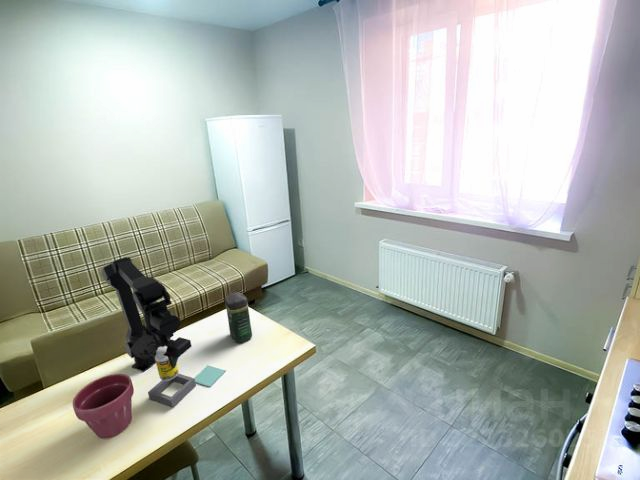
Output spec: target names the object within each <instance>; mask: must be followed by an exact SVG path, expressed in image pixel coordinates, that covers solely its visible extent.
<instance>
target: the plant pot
mask: <svg viewBox="0 0 640 480" xmlns="http://www.w3.org/2000/svg"><path fill="white" fill-rule="evenodd" d="M133 385H134V384H133V382H132V378H131V377H130V376H129V375H127V374H125V373H112V374H108V375H105V376H102V377H99V378H97V379H95V380H92V381H91V382H90V383H88V384H86V385H85V386H84V387H83V388H81V389H79V391H78V392H77V394H75V396H74V398H73V400H72V408H73V411H74V414H75V415H76V418H77V419H78V420H80V421H83V422H84V423H85V424H86V425H87V426H88V427H89V429H90V430H91V431H92V432H93V433H94V434H95V436H96V437H97V438H99V439H103V440H105V439H106V440H107V439H111V438H114V437H116V436H118V435H120V434H121V433H123V432H124V431H125V430H126V429H127V428H128V427H129V426H130V424H131V423H132V416H133V415H132V411H133V410H132V403H133V402H132V397H133V396H134V393H135V389H134V386H133Z"/></svg>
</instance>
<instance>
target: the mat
mask: <svg viewBox="0 0 640 480" xmlns="http://www.w3.org/2000/svg"><path fill="white" fill-rule="evenodd" d="M226 372H227V370H225V369H223V368H218V367H215V366H212V365H208V364H207V365H206V366H205V367H204V368H203V369H202V370H200V372H199V373H198V374H196V375H195V377H193V378H194V379H195V383H196V384H199V385H202V386H205V387H206V388H207V387H208V388H211V387H213V385H214V384H215V383H216V382H217V381H218V380H219V379H220V378H221V377H222V376H223V375H224V374H225V373H226Z"/></svg>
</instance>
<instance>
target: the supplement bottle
mask: <svg viewBox="0 0 640 480" xmlns="http://www.w3.org/2000/svg"><path fill="white" fill-rule="evenodd" d="M166 349H167V347H166V346H164V347H158V349H157V351H156V353H157V354H156V356H155V361H156V363H155V365H156V367H157V373H158V376H159V378H160V381H161V380H163V381H168V380H171V379H173V378H175V377H176V376H177V375H178V373H179V368H178V363H177V364H176V366H175V367H174V368H172V366H171V364H170V361H169V359H168V357H167V356H164V354H165V353H166Z"/></svg>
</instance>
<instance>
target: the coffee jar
mask: <svg viewBox="0 0 640 480" xmlns="http://www.w3.org/2000/svg"><path fill="white" fill-rule="evenodd" d="M224 304H225V308H226V314H227V315H226V317H227V322H228V329H229V335H230V338H231V339H232V340H233V341H234V342H235V343H236V344H237V343H245V342H247V341H249V340H250V339H252V337H253V331H252V325H251V319H250V312H249V302H248V298H247V296H246V295H245V294H243V293H242V292H238V291H234V292H231V293H228V294H227V295H226V296H225V298H224Z"/></svg>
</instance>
